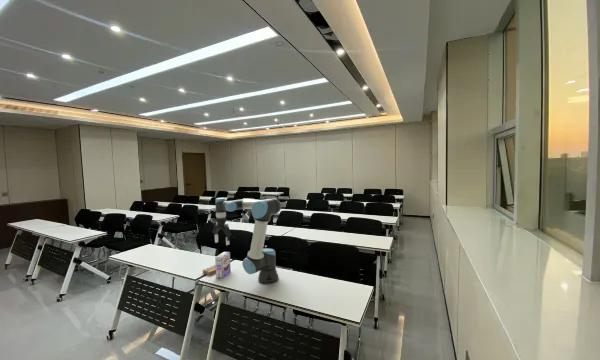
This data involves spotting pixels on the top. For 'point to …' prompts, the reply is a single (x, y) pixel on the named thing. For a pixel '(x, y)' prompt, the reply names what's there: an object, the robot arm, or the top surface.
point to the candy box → (222, 264)
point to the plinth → (210, 270)
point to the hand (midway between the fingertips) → (222, 243)
